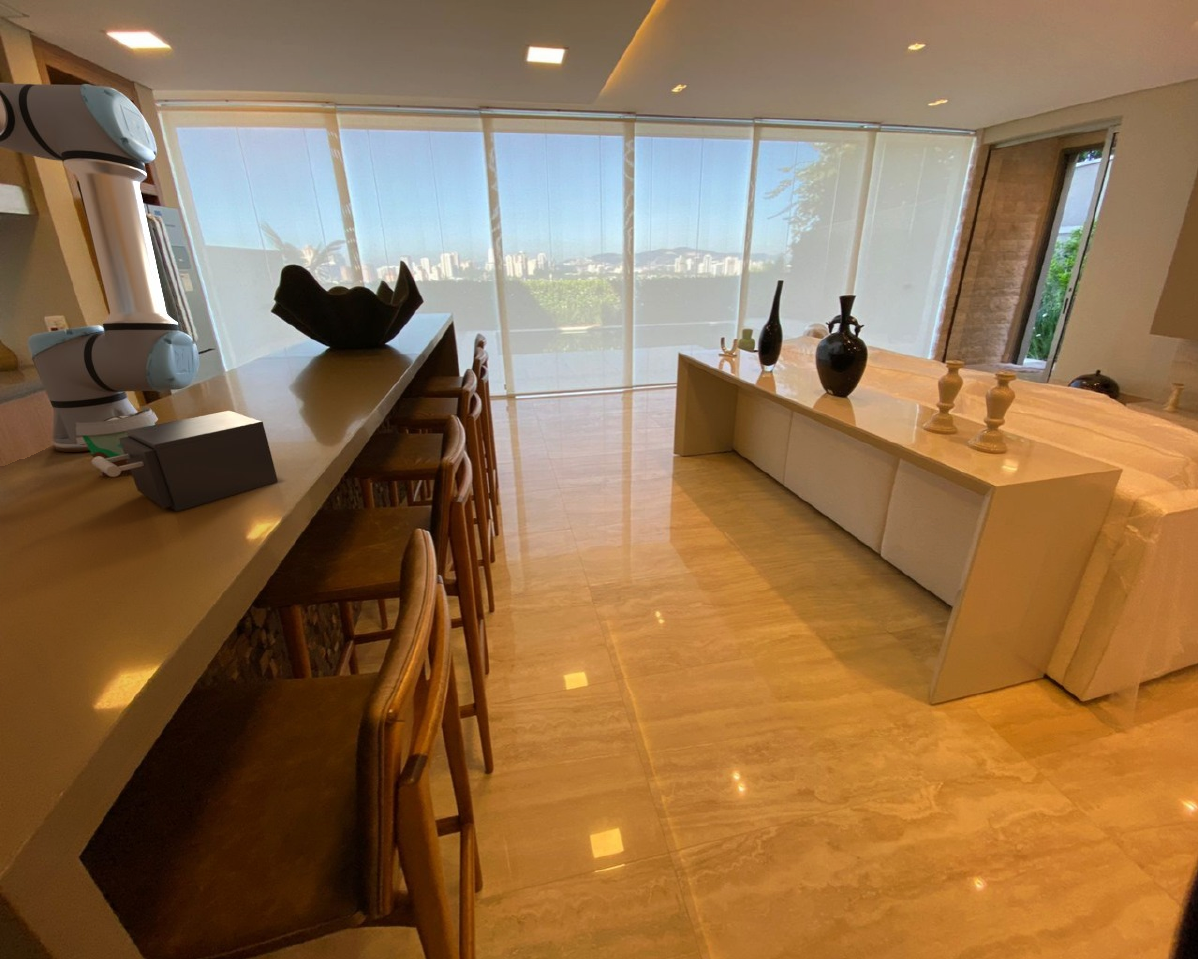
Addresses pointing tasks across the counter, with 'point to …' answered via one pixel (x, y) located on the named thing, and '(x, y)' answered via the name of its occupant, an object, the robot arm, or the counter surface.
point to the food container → (113, 434)
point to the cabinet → (209, 456)
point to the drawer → (139, 470)
